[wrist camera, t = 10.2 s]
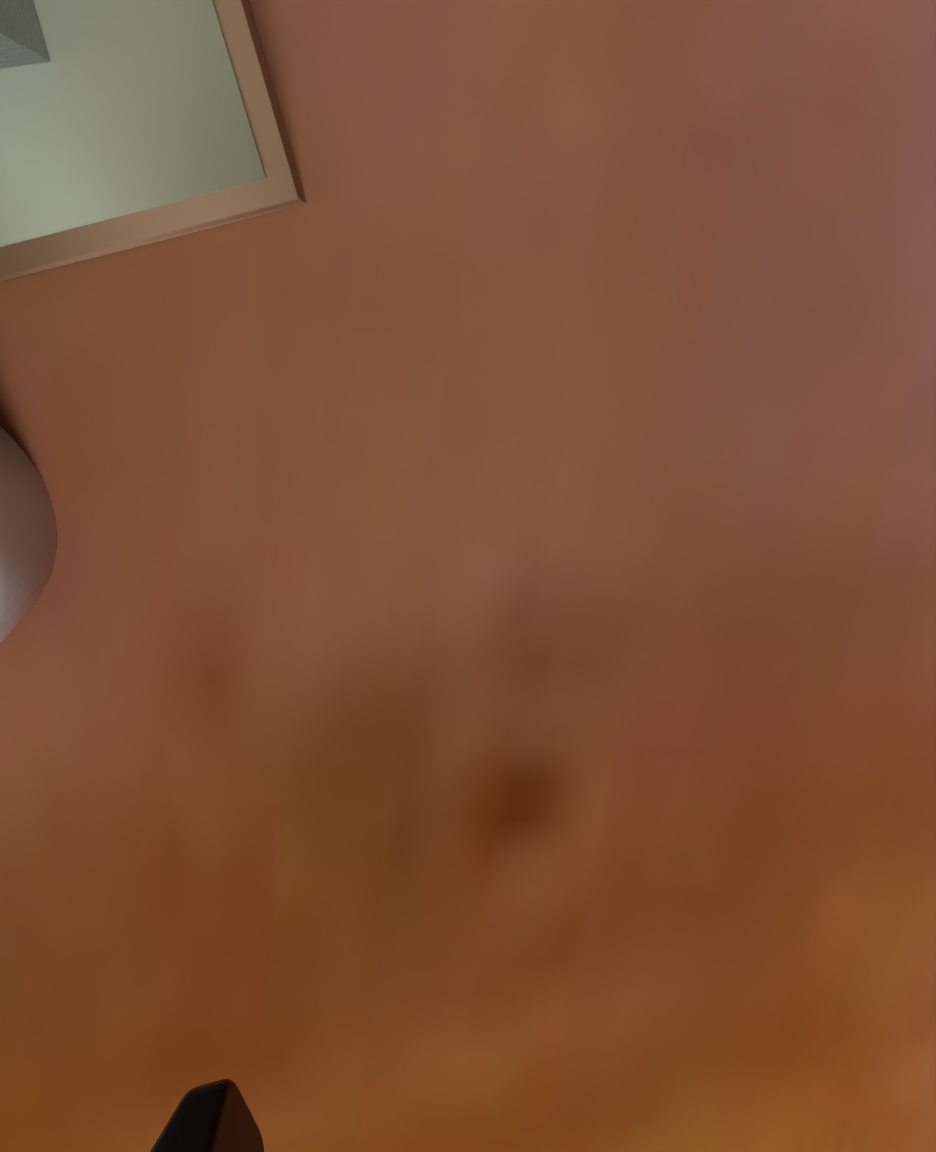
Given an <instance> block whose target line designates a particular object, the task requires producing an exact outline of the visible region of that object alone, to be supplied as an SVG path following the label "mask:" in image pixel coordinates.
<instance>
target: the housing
mask: <svg viewBox="0 0 936 1152" xmlns="http://www.w3.org/2000/svg"><path fill="white" fill-rule="evenodd" d="M46 62H51V60H50V56H49V53H48V49H47V46H46V42H45V39H44V36H43V32H42V29H41V25H40V22H39V18H38V15H37V11H36V8H35V4H34V1H33V0H0V69H2V68H10V67H17V66H24V65H31V64H38V63H46Z"/></svg>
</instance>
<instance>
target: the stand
mask: <svg viewBox="0 0 936 1152" xmlns="http://www.w3.org/2000/svg"><path fill="white" fill-rule="evenodd" d="M33 1H34V4H35V8H36V11H37V15H38V18H39V22H40V25H41V29H42V32H43V36H44V39H45V42H46V46H47V49H48V53H49V56H50V60H51V62H46V63H38V64H31V65H24V66H17V67H10V68H2V69H0V282H3V281H7V280H11V279H15V278H19V277H22V276H26V275H30V274H34V273H38V272H42V271H46V270H50V269H54V268H57V267H61V266H65V265H69V264H73V263H77V262H81V261H85V260H88V259H92V258H96V257H100V256H104V255H108V254H112V253H116V252H120V251H123V250H127V249H131V248H135V247H139V246H143V245H147V244H151V243H154V242H158V241H162V240H166V239H170V238H174V237H178V236H182V235H186V234H189V233H193V232H197V231H201V230H205V229H209V228H213V227H217V226H220V225H224V224H228V223H232V222H236V221H240V220H244V219H248V218H252V217H255V216H259V215H263V214H267V213H271V212H275V211H279V210H283V209H286V208H290V207H294V206H298V205H302V204H306V200H305V197H304V193H303V190H302V186H301V183H300V179H299V176H298V172H297V169H296V165H295V162H294V158H293V155H292V151H291V148H290V144H289V141H288V137H287V134H286V130H285V127H284V123H283V120H282V116H281V113H280V109H279V106H278V102H277V99H276V96H275V92H274V89H273V85H272V82H271V78H270V75H269V71H268V68H267V64H266V61H265V57H264V54H263V50H262V47H261V43H260V40H259V36H258V33H257V29H256V26H255V22H254V19H253V15H252V12H251V8H250V5H249V1H248V0H33Z"/></svg>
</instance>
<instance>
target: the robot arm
mask: <svg viewBox="0 0 936 1152" xmlns="http://www.w3.org/2000/svg"><path fill="white" fill-rule="evenodd" d="M151 1152H264V1146H263V1141H262V1137H261V1133H260V1130H259V1128H258V1126H257V1124H256V1122H255V1120H254V1118H253V1116H252V1114H251V1112H250V1110H249V1108H248V1106H247V1105H246V1103H245V1101H244V1099H243V1097H242V1095H241V1093H240V1091H239V1089H238V1087H237V1086H236V1084H235V1083H234V1082H233V1081H231V1080H229V1079H223V1080H219V1081H216V1082H212V1083H208V1084H205V1085H201V1086H198V1087H195V1088H193V1089H191V1090H190V1091H189V1092H188V1093H187V1094H186V1095H185V1096H184V1097H183V1099H182V1100H181V1102H180V1103H179V1105H178V1107H177V1108H176V1110H175V1112H174V1113H173V1115H172V1117H171V1118H170V1120H169V1122H168V1123H167V1125H166V1127H165V1128H164V1130H163V1132H162V1133H161V1135H160V1137H159V1138H158V1140H157V1142H156V1143H155V1145H154V1147H153V1148H152V1150H151Z"/></svg>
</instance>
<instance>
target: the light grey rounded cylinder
mask: <svg viewBox="0 0 936 1152" xmlns="http://www.w3.org/2000/svg"><path fill="white" fill-rule="evenodd" d="M56 549H57V529H56V519H55V515H54V510H53V506H52V502H51V499H50V497H49V494H48V492H47V489H46V486H45V484H44V482H43V480H42V478H41V477H40V475H39V473H38V471H37V469H36V467H35V466H34V465H33V463H32V462H31V460H30V459H29V457H28V456H27V455H26V453H25V452H24V451H23V449H22V448H21V447H20V446H19V445H18V444H17V443H16V442H15V441H14V439H13V438H12V437H11V436H10V435H9V434H8V433H7V432H5V431H4V430H3V429H2V428H1V427H0V643H1V642H2V641H3V640H4V639H5V638H6V636H7V635H8V634H9V633H10V632H11V631H12V629H13V628H14V627H15V626H16V625H17V624H18V622H19V621H20V620H21V619H22V618H23V617H24V615H25V614H26V613H27V612H28V611H29V610H30V608H31V607H32V606H33V605H34V603H35V602H36V601H37V600H38V599H39V597H40V595H41V594H42V592H43V590H44V589H45V587H46V585H47V583H48V580H49V578H50V575H51V573H52V570H53V566H54V561H55V557H56Z"/></svg>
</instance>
